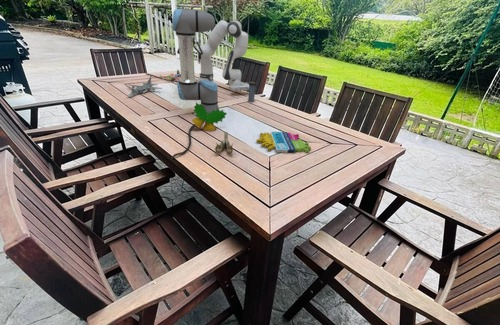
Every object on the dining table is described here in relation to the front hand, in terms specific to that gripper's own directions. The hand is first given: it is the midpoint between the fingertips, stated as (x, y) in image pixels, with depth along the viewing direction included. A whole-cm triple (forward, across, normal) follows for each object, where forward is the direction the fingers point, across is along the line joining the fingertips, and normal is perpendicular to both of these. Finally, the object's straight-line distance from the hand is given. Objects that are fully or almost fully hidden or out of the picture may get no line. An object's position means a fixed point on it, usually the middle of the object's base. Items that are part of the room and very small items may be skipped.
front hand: (190, 63), depth 211 cm
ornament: (+28, -4, +73) cm, 79 cm away
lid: (+12, -48, +17) cm, 52 cm away
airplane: (+27, +40, -16) cm, 51 cm away
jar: (+27, -48, +17) cm, 58 cm away
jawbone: (+28, -7, +106) cm, 110 cm away
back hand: (+21, -46, +3) cm, 51 cm away
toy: (+27, +12, -71) cm, 77 cm away
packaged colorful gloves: (+28, -42, +101) cm, 113 cm away
